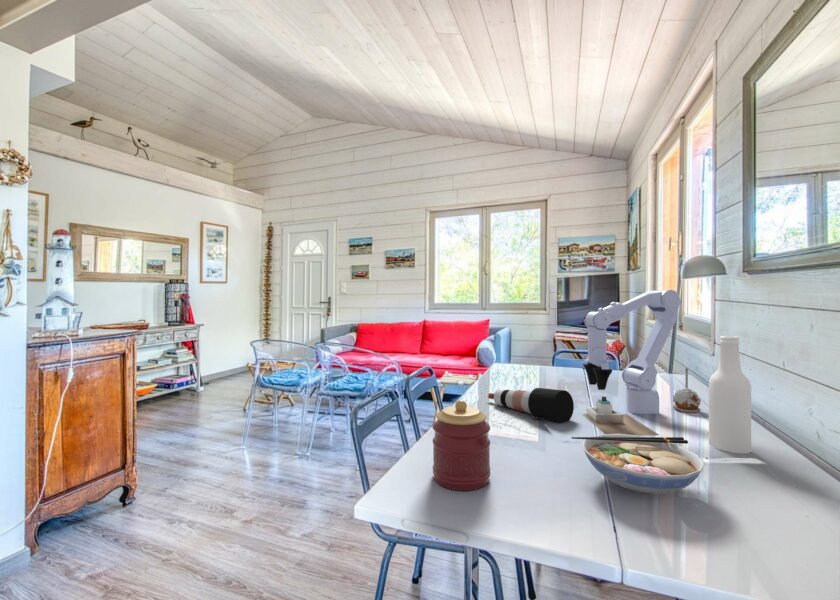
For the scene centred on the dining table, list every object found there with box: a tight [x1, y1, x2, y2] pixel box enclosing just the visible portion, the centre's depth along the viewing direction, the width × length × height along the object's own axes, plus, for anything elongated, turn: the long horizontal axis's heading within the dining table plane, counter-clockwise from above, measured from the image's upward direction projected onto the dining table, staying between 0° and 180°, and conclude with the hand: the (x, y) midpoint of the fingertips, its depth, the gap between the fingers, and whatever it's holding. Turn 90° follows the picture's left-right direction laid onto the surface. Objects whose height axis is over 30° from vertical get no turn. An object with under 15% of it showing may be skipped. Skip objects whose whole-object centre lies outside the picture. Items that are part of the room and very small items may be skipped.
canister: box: [432, 399, 492, 491], centre depth 89 cm, size 13×13×18 cm
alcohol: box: [708, 335, 752, 454], centre depth 104 cm, size 9×9×30 cm
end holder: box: [585, 406, 623, 423], centre depth 128 cm, size 8×8×2 cm
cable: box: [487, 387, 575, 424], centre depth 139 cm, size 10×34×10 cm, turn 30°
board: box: [581, 413, 660, 436], centre depth 123 cm, size 15×20×1 cm
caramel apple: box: [672, 367, 702, 413], centre depth 140 cm, size 8×8×15 cm
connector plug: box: [595, 396, 613, 414], centre depth 128 cm, size 4×4×7 cm
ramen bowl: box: [571, 433, 705, 495], centre depth 85 cm, size 25×23×8 cm
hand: (597, 387), depth 134 cm, fingers open, 7 cm apart
